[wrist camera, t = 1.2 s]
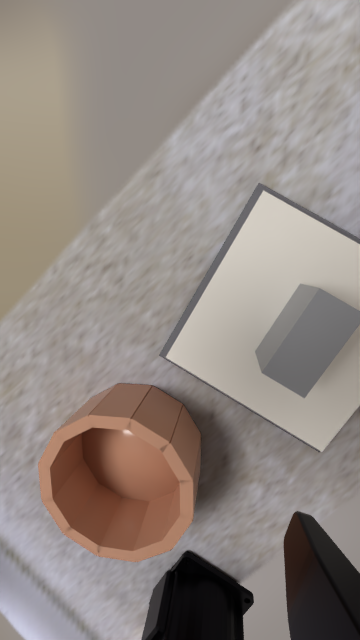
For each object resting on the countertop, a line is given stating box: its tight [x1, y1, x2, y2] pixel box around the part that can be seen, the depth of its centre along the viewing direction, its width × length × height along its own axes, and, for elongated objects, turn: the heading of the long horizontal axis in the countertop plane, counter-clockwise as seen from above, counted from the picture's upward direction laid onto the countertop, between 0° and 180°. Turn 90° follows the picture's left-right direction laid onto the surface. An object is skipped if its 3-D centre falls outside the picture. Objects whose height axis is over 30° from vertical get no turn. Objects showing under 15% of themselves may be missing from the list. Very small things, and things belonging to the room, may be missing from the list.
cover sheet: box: [166, 190, 360, 452], centre depth 17 cm, size 12×12×5 cm
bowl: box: [38, 383, 201, 562], centre depth 21 cm, size 10×10×5 cm
